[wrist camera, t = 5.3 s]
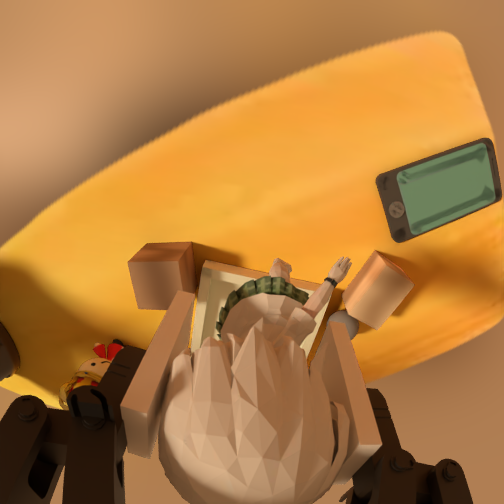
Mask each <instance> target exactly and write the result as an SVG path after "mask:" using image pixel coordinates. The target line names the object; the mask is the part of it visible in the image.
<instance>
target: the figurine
mask: <svg viewBox="0 0 504 504" xmlns="http://www.w3.org/2000/svg"><path fill="white" fill-rule="evenodd" d="M343 258H344V257H341V258H340V259H339V260H338V261H337V262H336V263H335V265H334V266H333V267H332V269H331V270H330V272H329V274H328V277H327V278H325V279H324V282H323V284H322V285H321V286H320V287H319V288H318V289H317V290H316V291H315V292H314V293H313V294H312V295H311V296H310V297H308V296H309V294H308V293H306V292H305V291H303V290H300V289H298V288H296V287H295V286H294V285H293V284H291V283H290V274H289V273H290V272H291V271H292V269H291V265H289V264H288V263H286V262H284V261H283V260H281V259H279V258H277V259H274V262H273V265H272V267H271V269H270V271H269V276H263V277H261V278H259V279H257V280H255V281H254V279H253V280H250V281H247V282H245V283H244V284H243V285H242V286H241V287H240V288H239V289H238V290H236V291H235V290H233V291H232V292H231V293H230V294H229V295H228V298H227V301H226V304H225V307H221V310H220V313H219V322H218V321H216V327H215V329H216V330H217V331H218V332H219V334H217V336H218V337H219V340H218V341H217V340H216V339H214V338H212V337H208V338H206V339H204V341H203V344H202V346H201V348H200V349H197V350H195V351H194V352H193V353H192V352H191V349H190V348H186V349H184V350H183V351H182V352H181V353H180V354H179V355H178V356H177V357H176V358H175V360H174V361H173V363H172V365H171V370H170V373H169V377H168V380H167V384H166V388H165V392H164V398H163V404H162V411H161V418H160V425H159V432H158V444H159V459H160V462H161V464H162V466H163V468H164V470H165V475H166V476H167V478H168V479H169V481H170V483H171V484H172V485H173V486H174V487H175V489H176V490H177V491H178V492H179V494H180V495H181V496H182V498H183V499H185V500H186V501H188V502H189V503H190V504H312V503H314V502H315V501H317V500H318V499H319V498H321V497H322V496H323V495H324V494H325V493H326V492H327V491H328V490H329V489H330V488H331V486H332V484H333V483H334V481H335V479H336V478H337V476H338V474H339V473H340V471H341V469H342V464H343V461H344V459H345V457H346V455H347V447H348V436H349V423H350V419H349V417H348V415H347V412H346V410H345V408H344V405H342V404H339V403H336V402H333V401H330V402H329V396H328V393H327V391H326V388H325V385H324V383H323V380H322V378H321V377H322V370H323V363H324V356H325V350H326V348H327V346H328V343H329V342H328V343H326V344H324V346H323V347H322V348H321V350H320V351H319V352H318V354H317V355H316V356H315V357H314V359H313V360H312V361H311V365H310V367H309V369H308V366H307V360H306V354H305V350H304V349H302V348H300V346H301V344H302V343H303V341H304V340H305V338H306V337H307V336H308V335H309V334H311V333H313V331H314V329H315V327H316V324H317V323H316V322H315V320H314V319H315V317H316V316H317V314H318V313H319V312H320V310H321V309H322V308H323V307H324V306H325V304H326V303H327V302H328V300H329V298H330V296H331V293H332V291H333V289H334V288H335V287H336V285H337V284H338V283H339V282H341V281H342V280H343V279H344V277H345V276H346V274H347V272H348V270H349V268H350V266H351V264H352V263H351V262H350V263H349V261H350V259H349V258H348V257H346V258H345V259H344V260H343ZM347 259H348V260H347ZM342 260H343V261H342ZM341 261H342V262H341ZM348 263H349V264H348ZM190 353H191V354H190ZM191 355H192V356H191ZM190 357H191V359H190ZM330 404H331V405H333V406H334V407H336V408H337V409H338V422H337V420H336V419H333V418H332V415H331V409H330Z"/></svg>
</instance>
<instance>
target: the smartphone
mask: <svg viewBox="0 0 504 504" xmlns="http://www.w3.org/2000/svg"><path fill="white" fill-rule="evenodd" d="M376 185H377V188H378V191H379V194H380V198H381V201H382V204H383V208H384V211H385V215H386V218H387V222H388V225H389V229H390V233H391V237H392V238H393V240H394V241H395V242H397V243H400V242H403V241H405V240H408V239H410V238H413V237H415V236H418V235H420V234H422V233H425V232H427V231H430V230H432V229H435V228H437V227H439V226H442V225H444V224H447V223H449V222H452V221H455V220H457V219H459V218H462V217H464V216H466V215H468V214H471V213H473V212H475V211H478V210H479V209H482V208H484V207H487V206H489V205H490V204H492V203H495V202H497V201H499V200H500V199H501V197H502V191H501V184H500V178H499V172H498V167H497V162H496V157H495V152H494V147H493V143H492V141H491V140H490V139H489V138H481V139H478V140H476V141H473V142H470V143H467V144H464V145H461V146H458V147H455V148H452V149H449V150H446V151H444V152H441V153H438V154H435V155H432V156H429V157H427V158H424V159H421V160H418V161H415V162H413V163H410V164H407V165H404V166H402V167H399V168H396V169H393V170H391V171H388V172H385V173H382V174H380V175H378V176H377V178H376Z"/></svg>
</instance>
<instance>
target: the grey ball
mask: <svg viewBox="0 0 504 504" xmlns="http://www.w3.org/2000/svg"><path fill="white" fill-rule="evenodd" d="M329 321H334V322H340V323H345V325H346V328H347V331H348V334H349V337H350V340H352V339H353V338H354V337H355V336H356V334H357V332H358V329H359V323H358V320H357V319H356V318H354V317H352V316H350V315H349V314H348V312H347V311H346V310H340V311H337V312H335V313H333V314H332V315H331V316H330V318H329V319H328V321H327V325H328V322H329Z"/></svg>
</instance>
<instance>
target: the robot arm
mask: <svg viewBox="0 0 504 504" xmlns="http://www.w3.org/2000/svg"><path fill="white" fill-rule="evenodd" d="M194 300H195V294H193V293H188V292H184V291H180V290H178V291H177V293H176V295H175V297H174V299H173V301H172V303H171V305H170V306H169V308H168V310H167V312H166V314H165V316H164V318H163V320H162V322H161V324H160V326H159V328H158V330H157V331H156V333H155V335H154V337H153V339H152V341H151V343H150V345H149V347H148V349H147V350H143V349H140V348H136V347H133V346H129V345H127V346H126V347H124V348H123V349H121V350H120V351H118V352H117V354H116V355H115V357H114V359H113V360H112V363H111V364H110V365H109V367H108V369H107V372H105V374H104V375H103V377H102V379H101V381H100V382H99V384H98V386H97V387H96V386H93V385H82V386H79V387H76V388H74V389H73V390H72V391H71V392H70V393H69V394H68V396H67V398H66V401H67V405H68V408H69V410H59V409H52V408H47V407H46V405H45V404H44V402H43V401H42V400H41V399H39V398H38V397H36V396H32V395H24V396H21V397H18V398H16V399H15V400H14V401H13V402H12V403H11V405H10V406H9V408H8V410H7V412H6V413H5V415H4V416H3V418H2V420H1V421H0V504H50V501H51V498H52V496H53V493H54V490H55V488H56V485H57V482H58V480H59V477H60V474H61V472H62V470H63V467H64V466H65V472H64V484H63V500H62V504H125V489H124V461H123V454H124V452H125V449H126V447H127V449H128V452H129V453H132V454H135V455H138V456H141V457H144V458H148V459H150V457H151V454H152V451H153V448H154V445H155V442H156V439H157V435H158V432H159V425H160V418H161V411H162V404H163V398H164V392H165V388H166V384H167V380H168V377H169V373H170V370H171V365H172V363H173V361H174V360H175V358H176V357H177V356H178V355H179V354H180V353H181V352H182V351H183V350H184V349H186V348H187V347H188V344H189V338H190V330H191V322H192V314H193V307H194ZM328 342H329V343H328ZM326 343H328V346H327V348H326V350H325V356H324V363H323V370H322V377H321V378H322V380H323V383H324V385H325V388H326V391H327V393H328V396H329V402H330V401H333V402H336V403H339V404H342V405H344V408H345V410H346V412H347V415H348V417H349V419H350V423H349V436H348V447H347V455H346V457H345V459H344V461H343V464H342V469H341V471H340V473H339V474H338V476H337V478H336V479H335V481H334V483H333V484H346V483H347V482H348V481H349V480H350V479H351V478H352V479H353V485H354V486H353V487H352V488H350V489H349V490H348V491H347V492H346V493H345V494H344V495H343V496H342V497H341V499H340V500H339V502H342V501H344V500H345V499H346V498H347V500H346V504H473V501H472V498H471V494H470V491H469V488H468V484H467V481H466V478H465V475H464V472H463V470H462V468H461V466H460V465H459V464H458V463H457V462H456V461H454V460H451V459H443V460H441V461H440V462H439V463H438V464H436V466H432V465H427V464H422V463H418V462H416V461H415V459H414V458H413V456H412V455H411V454H410V453H409V452H407V451H405V450H403V449H402V448H401V446H400V443H399V439H398V436H397V433H396V430H395V427H394V424H393V421H392V419H391V415H390V412H389V411H388V406H387V403H386V400H385V398H384V397H383V395H382V394H381V393H380V392H379V390H378V389H370V388H366V387H365V383H364V380H363V377H362V374H361V371H360V367H359V364H358V361H357V358H356V355H355V352H354V349H353V346H352V343H351V340H350V337H349V334H348V331H347V328H346V325H345V323H340V322H334V321H329V322H328V325H327V328H326V330H325V332H324V335H323V337H322V340H321V342H320V345H319V347H318V349H317V352H316V354H315V356H316V355H317V354H318V352H319V351H320V350H321V348H322V347H323V346H324V344H326ZM19 366H20V359H19V355H18V352H17V349H16V347H15V345H14V343H13V341H12V339H11V337H10V335H9V334H8V332H7V331H6V329H5V328H4V327H3V325H2V324H1V323H0V381H2V380H3V379H4V378H8V377H11V376H12V375H13V374H14V373H15V372H16V371H17V369H18V368H19ZM330 409H331V415H332V418H333V419H336V420H337V422H338V409H337V408H336V407H334V406H333V405H331V404H330Z"/></svg>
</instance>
